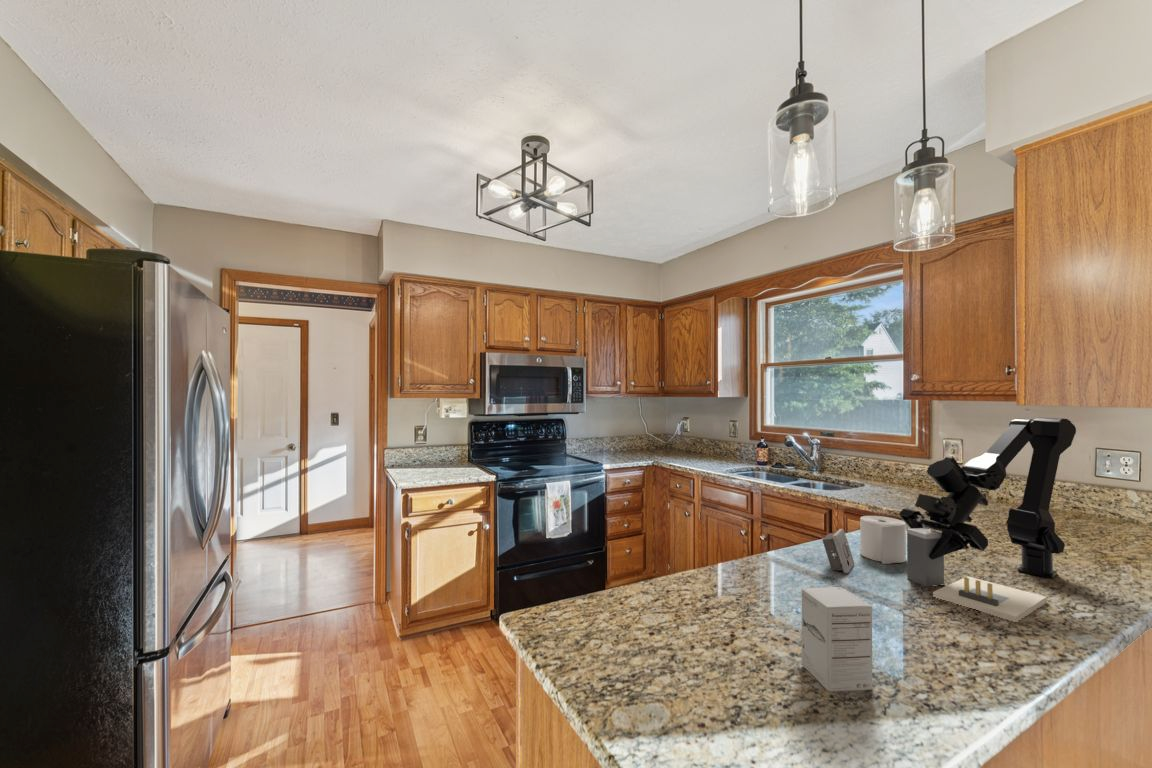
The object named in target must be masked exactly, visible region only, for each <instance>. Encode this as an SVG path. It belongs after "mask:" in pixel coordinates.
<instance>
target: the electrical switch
mask: <svg viewBox="0 0 1152 768" xmlns="http://www.w3.org/2000/svg"><path fill="white" fill-rule="evenodd" d="M822 543H823V547H824V550H825V552H826V556H827V560H828V563H829V566H830V569H831V571H834V572H835V571H842V572H843V574H849V573H850V572H851V570H852V568H854V566H855V561H854V557H853V554H852V550H851V549H850V545H849V541H848V538H847V535H846V533H845V530H844V529H843V528H839V529H838V530H837V531H836V532H830V533H827V534H826V536H825V537H823V538H822Z"/></svg>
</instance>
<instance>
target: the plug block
mask: <svg viewBox="0 0 1152 768" xmlns="http://www.w3.org/2000/svg"><path fill="white" fill-rule="evenodd" d="M941 536H942V532H941V531H937V530H934V529H931V528H929V529H926V528H914V529H911V528H906V562H907V565H906V566H907V571H906V572H907V575H906V576H907V580H909V579H910V580H909V581H911V580H912V581H911V582H913V581H914V582H913V583H916V582H917V583H916V584H918V583H920V584H922V585H921V586H923V585H925V586H932V587H934V586H933V585H941V584H944V585H945V555H944V556H941V557H938V558H936V559H933V560H932V559H931V558H930V557H929V555H930V553H931V551H932V550H933V548H934V547H935V545H936V544H937V543H938V541H939V540H940V538H941ZM920 584H919V585H920ZM925 586H924V587H925Z"/></svg>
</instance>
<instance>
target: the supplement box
mask: <svg viewBox="0 0 1152 768" xmlns="http://www.w3.org/2000/svg"><path fill="white" fill-rule="evenodd" d="M801 666H802V667H803V668H804V669H805V670H807V671H808V672H809V673H810V674H811V675H812V676H813V678H815V679H816V681H818V683H820V685H822V686H823V687H824V688H825V690H826V691H827V692H829V693H831V692H835V693H836V692H850V691H851V692H852V691H853V692H854V691H868V690H869V691H870V690H873V606H872V605H871V604H869V602H866V601H864V600H862V599H861V598H860V597H857V596H856V595H854V594H853V593H851V592H850V591H849V590H847V589H845V588H843V587H841V586H840V587H839V586H838V587H837V586H834V587H832V586H831V587H807V588H801Z"/></svg>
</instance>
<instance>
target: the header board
mask: <svg viewBox="0 0 1152 768" xmlns="http://www.w3.org/2000/svg"><path fill="white" fill-rule="evenodd" d="M932 594H933V595H932V598H933V597H936V598H935V599H937V598H939V599H938V600H940V599H942V600H941V601H943V600H946V601H950V602H953V603H956V604H959V605H958V606H960V605H962V606H961V607H963V606H966V607H969V608H973V609H976V610H979V611H982V612H981V613H983V612H985V613H984V614H986V613H988V614H987V615H989V614H991V615H990V616H992V615H994V616H993V617H996V616H997V617H996V618H999V617H1000V618H999V619H1002V618H1003V620H1006V619H1007V620H1006V621H1009V622H1012V621H1013V623H1015V622H1017V623H1019V622H1020V621H1021V620H1023V619H1024V618H1025V616H1026V617H1027V616H1028V615H1030V614H1031V613H1033V612H1035V611H1036V610H1038V609H1039V608H1041V607H1042V606H1044V605H1046V604H1047V601H1048V597H1047V596H1045V595H1041V594H1038V593H1034V592H1029V591H1025V590H1022V589H1018V588H1014V587H1011V586H1007V585H1002V584H999V583H996V582H991V581H987V580H983V579H979V578H975V577H971V576H968V575H967V576H965V577H963V578H961V579H959V580H956V581H954V582H952V583H950V584H948V585H946V586H945V585H944V586H942V587H941V588H939V589H936V590H934V591H933V592H932ZM946 601H945V602H946ZM950 602H949V603H950ZM953 603H952V604H953ZM956 604H955V605H956ZM966 607H965V608H966ZM969 608H968V609H969ZM1037 608H1038V609H1037ZM973 609H972V610H973ZM976 610H975V611H976ZM1034 610H1035V611H1034ZM979 611H978V612H979ZM1022 618H1023V619H1022ZM1019 620H1020V621H1019Z"/></svg>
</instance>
